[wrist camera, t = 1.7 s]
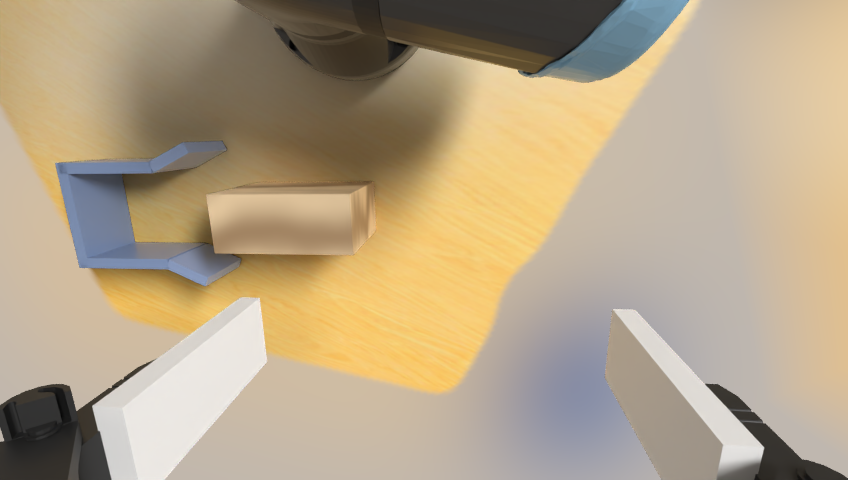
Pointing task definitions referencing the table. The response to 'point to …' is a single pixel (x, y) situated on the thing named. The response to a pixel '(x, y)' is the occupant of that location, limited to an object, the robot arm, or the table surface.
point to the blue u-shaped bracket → (110, 220)
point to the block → (293, 218)
